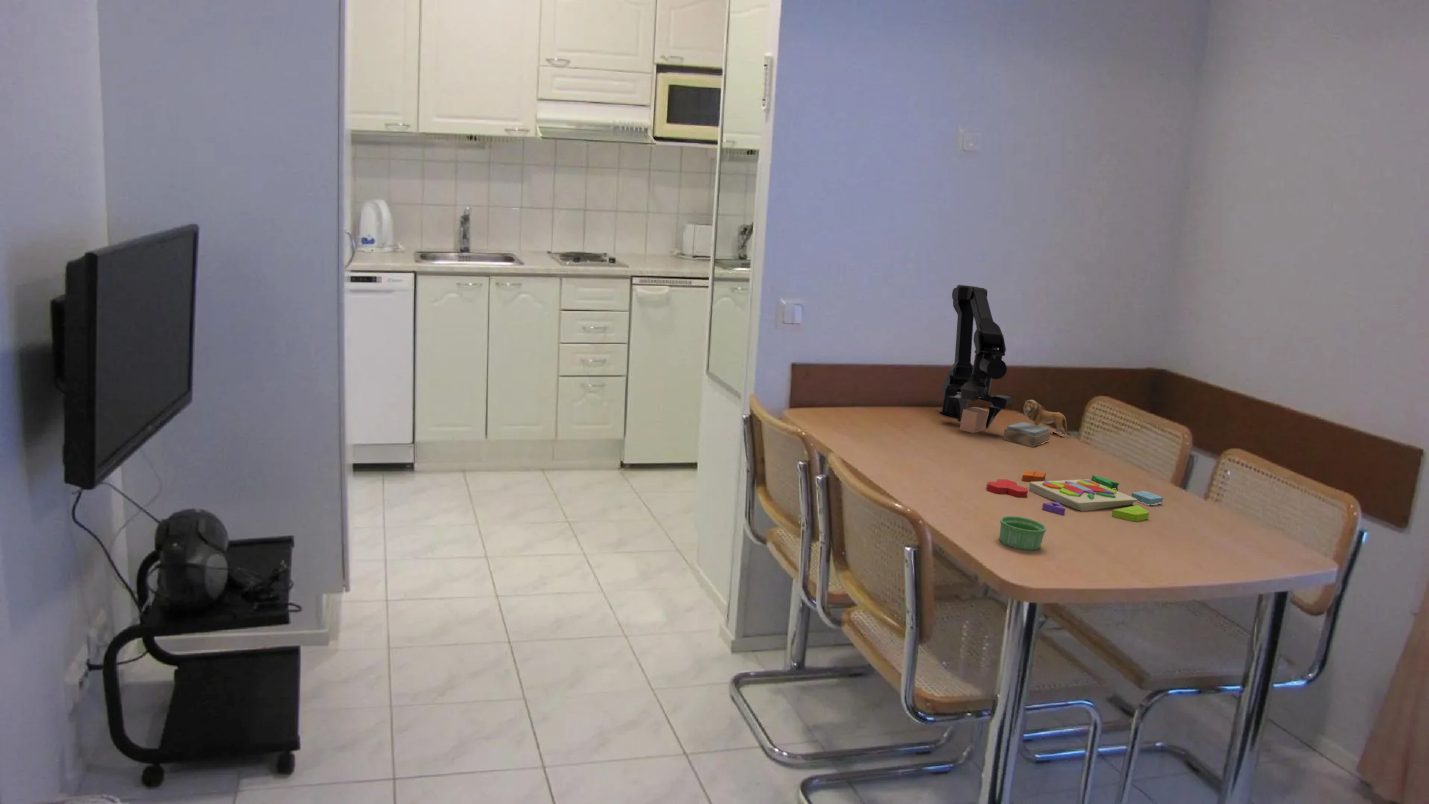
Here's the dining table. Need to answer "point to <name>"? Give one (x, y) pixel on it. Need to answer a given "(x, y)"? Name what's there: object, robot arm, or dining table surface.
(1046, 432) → the base brick
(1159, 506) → the dining table surface
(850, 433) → the dining table surface
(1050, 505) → the pattern blocks set
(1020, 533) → the ramekin
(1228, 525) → the dining table surface
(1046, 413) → the lion figurine
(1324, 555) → the dining table surface
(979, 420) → the terracotta brick
